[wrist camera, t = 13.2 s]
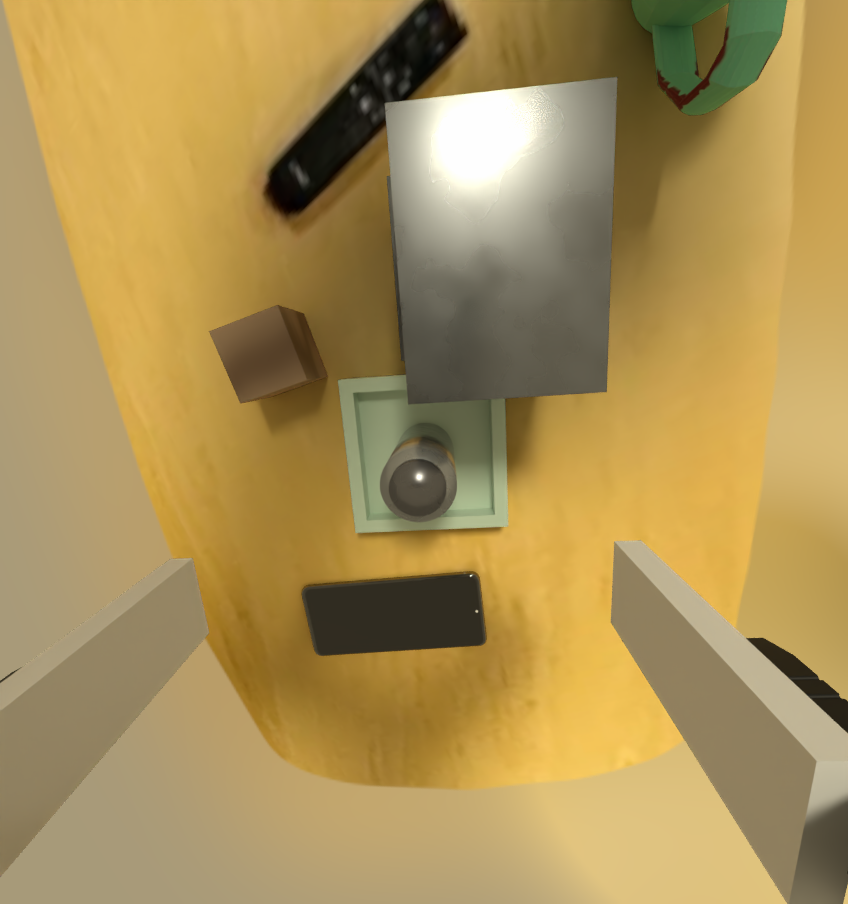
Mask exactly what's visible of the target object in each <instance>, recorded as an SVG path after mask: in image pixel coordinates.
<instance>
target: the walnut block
mask: <svg viewBox="0 0 848 904" xmlns="http://www.w3.org/2000/svg"><path fill="white" fill-rule="evenodd" d="M209 332H210V335H211V337H212V339H213V341H214V344H215V346H216V348H217V351H218V353H219V355H220V358H221V360H222V362H223V364H224V367H225V369H226V371H227V374H228V376H229V378H230V380H231V383H232V385H233V387H234V390H235V392H236V394H237V396H238V399H239V401H240V403H245V402H250V401H254V400H259V399H264V398H268V397H272V396H275V395H278V394H281V393H283V392H286V391H289V390H292V389H295V388H297V387H300V386H303V385H306V384H309V383H311V382H314V381H317V380H320V379H323V378H325V377H328V375H327V373H326V370H325V368H324V365H323V362H322V360H321V357H320V355H319V352H318V349H317V347H316V344H315V342H314V339H313V336H312V334H311V331H310V329H309V326H308V323H307V321H306V318H305V316H304V314H303V313H300V312H297V311H294V310H291V309H288V308H285V307H282V306H279V305H276V306H274V307H271V308H269V309H266V310H263V311H261V312H258V313H256V314H253V315H250V316H248V317H245V318H243V319H240V320H238V321H235V322H232V323H230V324H227V325H225V326H222V327H219V328H217V329H214V330H212V331H209Z"/></svg>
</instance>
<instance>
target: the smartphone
mask: <svg viewBox="0 0 848 904" xmlns="http://www.w3.org/2000/svg"><path fill="white" fill-rule="evenodd" d="M302 599H303V603H304V607H305V612H306V616H307V621H308V625H309V629H310V634H311V638H312V643H313V647H314V651H315V653H316V654H318V655H320V656H328V655H343V654H359V653H374V652H390V651H405V650H421V649H437V648H452V647H468V646H481V645H483V644H484V643H485V642H486V639H487V636H486V626H485V618H484V609H483V600H482V592H481V583H480V577H479V575H478V574H477V573H476V572H473V571H467V572H455V573H443V574H431V575H419V576H407V577H395V578H383V579H371V580H359V581H347V582H335V583H324V584H313V585H306V586H305V587H304V588H303V590H302Z"/></svg>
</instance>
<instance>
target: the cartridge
mask: <svg viewBox="0 0 848 904" xmlns="http://www.w3.org/2000/svg"><path fill="white" fill-rule="evenodd" d="M380 492H381V496H382V498H383V501H384V502H385V504H386V506H387V507H388V508H389V509H390V510H391V511H392V512H393V513H394V514H395V515H397V516H398V517H400V518H402V519H405V520H407V521H411V522H427V521H431V520H434V519H436V518H438V517H440V516H441V515H443V514H444V513H445V512H446V511H447V510H448V509H449V508H450V506H451V505H452V503H453V501H454V499H455V496H456V492H457V478H456V468H455V458H454V448H453V443H452V440H451V438H450V436H449V435H448V433H447V432H446V431H445V430H444V429H442V428H441V427H439V426H437V425H435V424H431V423H419V424H416V425H413V426H412V427H410V428H409V429H407V430H406V431H405V432H404V433H403V435H402V436H401V438H400V440H399V442H398V443H397V445H396V447H395V449H394V451H393V452H392V454H391V456H390V458H389V460H388V461H387V463H386V465H385V467H384V468H383V471H382V473H381V477H380Z"/></svg>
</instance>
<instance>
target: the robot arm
mask: <svg viewBox="0 0 848 904" xmlns="http://www.w3.org/2000/svg"><path fill="white" fill-rule="evenodd" d="M611 623H612V625H613V626H614V628H615V630H616V631H617V633H618V634H619V636H620V638H621V639H622V641H623V642H624V644H625V646H626V647H627V649H628V650H629V652H630V654H631V655H632V657H633V658H634V660H635V662H636V663H637V665H638V666H639V668H640V670H641V671H642V673H643V674H644V676H645V677H646V679H647V681H648V682H649V684H650V685H651V687H652V689H653V690H654V692H655V693H656V695H657V697H658V698H659V700H660V701H661V703H662V705H663V706H664V708H665V709H666V711H667V713H668V714H669V716H670V717H671V719H672V721H673V722H674V724H675V725H676V727H677V729H678V730H679V732H680V733H681V735H682V736H683V738H684V740H685V741H686V743H687V744H688V746H689V748H690V749H691V751H692V752H693V754H694V756H695V757H696V759H697V760H698V762H699V763H700V765H701V767H702V768H703V770H704V771H705V773H706V775H707V776H708V778H709V779H710V781H711V783H712V784H713V786H714V787H715V789H716V791H717V792H718V794H719V795H720V797H721V799H722V800H723V802H724V803H725V805H726V807H727V808H728V810H729V811H730V813H731V815H732V816H733V818H734V819H735V821H736V822H737V824H738V826H739V827H740V829H741V830H742V832H743V834H744V835H745V837H746V839H747V840H748V842H749V843H750V845H751V846H752V848H753V850H754V851H755V853H756V855H757V856H758V858H759V859H760V861H761V862H762V864H763V866H764V867H765V869H766V870H767V872H768V874H769V875H770V877H771V878H772V880H773V881H774V883H775V885H776V886H777V888H778V890H779V891H780V893H781V894H782V896H783V897H784V899H785V901H786V902H787V904H843V901H844V897H845V893H846V888H847V884H848V701H847V700H845V699H841V698H840V696H839V693H837V692H836V691H835V690H834V689H833V688H831V687H830V686H829V685H828V684H827V683H826V682H824V681H823V680H819V678H818V676H817V675H816V674H815V673H814V672H813V671H812V670H810V669H809V668H808V667H807V666H806V665H805V664H803V663H802V662H801V661H800V660H799V659H798V658H796V657H795V656H794V655H793V654H791V653H789V652H787V651H785V650H784V649H782V648H780V647H778V646H776V645H775V644H773V643H771V642H769V641H768V640H766V639H764V638H745V637H744V636H743V635H742V634H741V633H739V632H738V631H737V630H736V629H735V628H734V627H733V626H732V625H731V624H730V623H729V622H728V621H727V620H726V619H725V618H723V617H722V616H721V615H720V614H719V613H718V612H717V611H716V610H715V609H714V608H713V607H712V606H711V605H710V604H708V603H707V602H706V601H705V600H704V599H703V598H702V597H701V596H700V595H699V594H698V593H697V592H696V591H695V590H693V589H692V588H691V587H690V586H689V585H688V584H687V583H686V582H685V581H684V580H683V579H682V578H681V577H680V576H678V575H677V574H676V573H675V572H674V571H673V570H672V569H671V568H670V567H669V566H668V565H667V564H666V563H665V562H663V561H662V560H661V559H660V558H659V557H658V556H657V555H656V554H655V553H654V552H653V551H652V550H651V549H650V548H648V547H647V546H646V545H645V544H644V543H643V542H642V541H641V540H639V541H614V562H613V585H612V608H611ZM208 634H209V630H208V625H207V620H206V616H205V611H204V607H203V602H202V598H201V593H200V589H199V584H198V580H197V575H196V571H195V566H194V562H193V558H182V559H169V560H168V561H166V562H165V563H164V564H162V565H161V566H160V567H158V568H157V569H156V570H154V571H153V572H151V573H150V574H149V575H147V576H146V577H145V578H143V579H142V580H141V581H139V582H138V583H136V584H135V585H134V586H132V587H131V588H130V589H128V590H127V591H126V592H124V593H123V594H121V595H120V596H119V597H117V598H116V599H115V600H113V601H112V602H110V603H109V604H108V605H107V606H105V607H104V608H103V609H101V610H100V611H98V612H97V613H96V614H94V615H93V616H91V617H90V618H89V619H87V620H86V621H85V622H83V623H82V624H81V625H79V626H78V627H76V628H75V629H74V630H72V631H71V632H70V633H68V634H67V635H66V636H64V637H63V638H61V639H60V640H59V641H57V642H56V643H55V644H53V645H52V646H50V647H49V648H48V649H46V650H45V651H44V652H42V653H41V654H40V655H38V656H37V657H35V658H34V659H33V660H31V661H30V662H29V663H27V664H26V665H24V666H23V667H21V668H19V669H18V670H16V671H14V672H12V673H11V674H9V675H8V676H6V677H5V678H4V679H2V680H1V681H0V877H1V876H2V874H3V873H4V872H5V871H6V870H7V869H8V867H9V866H10V865H11V864H12V863H13V862H14V860H15V859H16V858H17V857H18V856H19V855H20V853H21V852H22V851H23V850H24V849H25V848H26V846H27V845H28V844H29V843H30V842H31V841H32V839H33V838H34V837H35V836H36V835H37V834H38V832H39V831H40V830H41V829H42V828H43V827H44V825H45V824H46V823H47V822H48V821H49V820H50V818H51V817H52V816H53V815H54V814H55V813H56V811H57V810H58V809H59V808H60V806H62V804H63V803H64V802H65V801H66V800H67V799H68V797H69V796H70V795H71V794H72V793H73V792H74V790H75V789H76V788H77V787H78V786H79V784H80V783H81V782H82V781H83V780H84V779H85V778H86V776H87V775H88V774H89V773H90V772H91V770H92V769H93V768H94V767H95V766H96V765H97V763H98V762H99V761H100V760H101V759H102V758H103V756H104V755H105V754H106V753H107V752H108V751H109V749H110V748H111V747H112V746H113V745H114V744H115V742H116V741H117V740H118V739H119V738H120V737H121V735H122V734H123V733H124V732H125V731H126V730H127V728H128V727H129V726H130V725H131V724H132V723H133V721H134V720H135V719H136V718H137V717H138V716H139V714H140V713H141V712H142V711H143V710H144V708H145V707H146V706H147V705H148V704H149V703H150V702H151V700H152V699H153V698H154V697H155V696H156V694H157V693H158V692H159V691H160V690H161V689H162V688H163V686H164V685H165V684H166V683H167V682H168V680H169V679H170V678H171V677H172V676H173V674H174V673H175V672H176V671H177V670H178V669H179V668H180V666H181V665H182V664H183V663H184V662H185V661H186V659H187V658H188V657H189V656H190V655H191V654H192V652H193V651H194V650H195V649H196V648H197V647H198V645H199V644H200V643H201V642H202V641H203V640H204V638H205V637H206V636H207V635H208Z"/></svg>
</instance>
